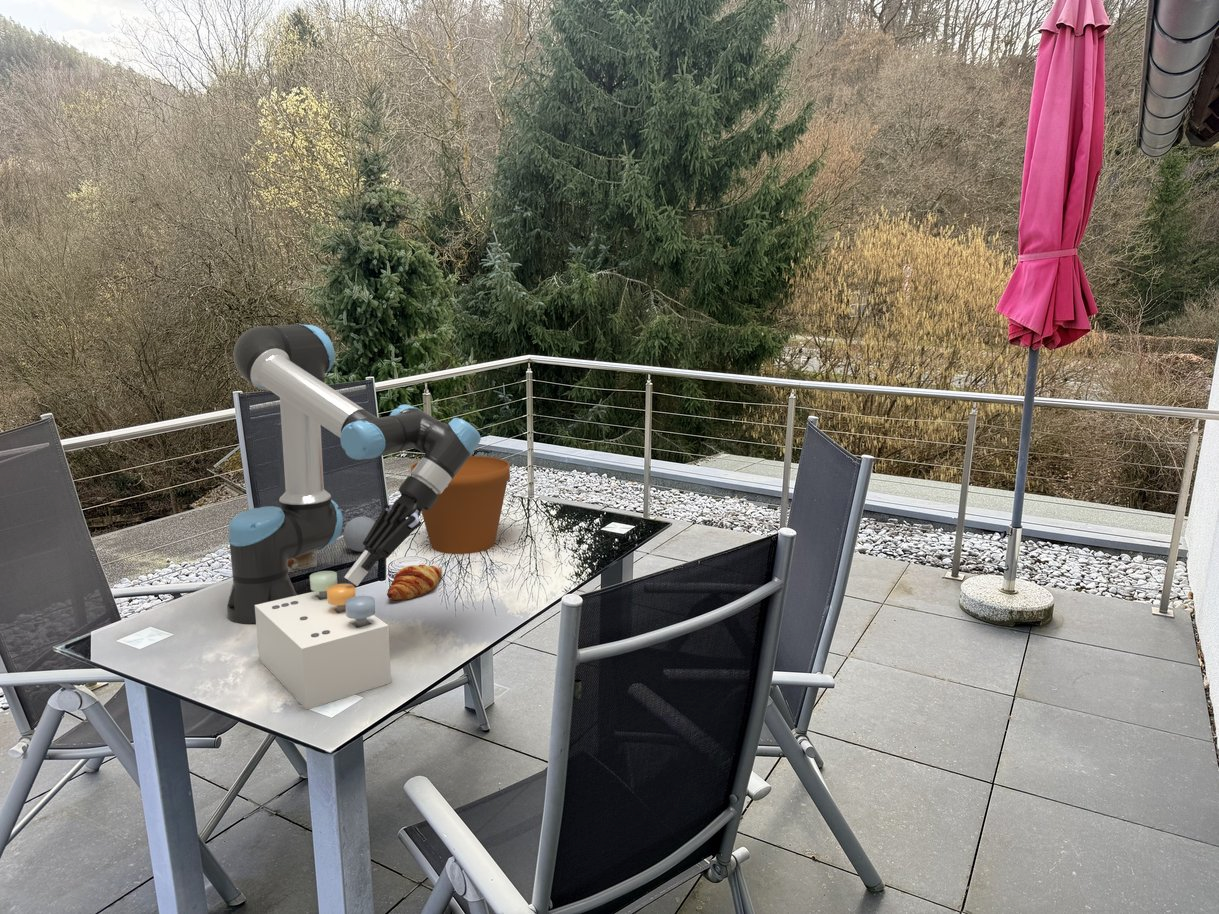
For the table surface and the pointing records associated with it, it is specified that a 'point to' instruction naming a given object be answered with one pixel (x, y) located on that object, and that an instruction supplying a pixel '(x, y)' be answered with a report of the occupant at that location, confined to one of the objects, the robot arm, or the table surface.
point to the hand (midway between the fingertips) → (350, 581)
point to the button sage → (322, 582)
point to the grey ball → (357, 532)
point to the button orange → (340, 595)
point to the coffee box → (302, 562)
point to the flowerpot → (468, 507)
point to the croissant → (414, 581)
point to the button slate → (360, 609)
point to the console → (321, 649)
